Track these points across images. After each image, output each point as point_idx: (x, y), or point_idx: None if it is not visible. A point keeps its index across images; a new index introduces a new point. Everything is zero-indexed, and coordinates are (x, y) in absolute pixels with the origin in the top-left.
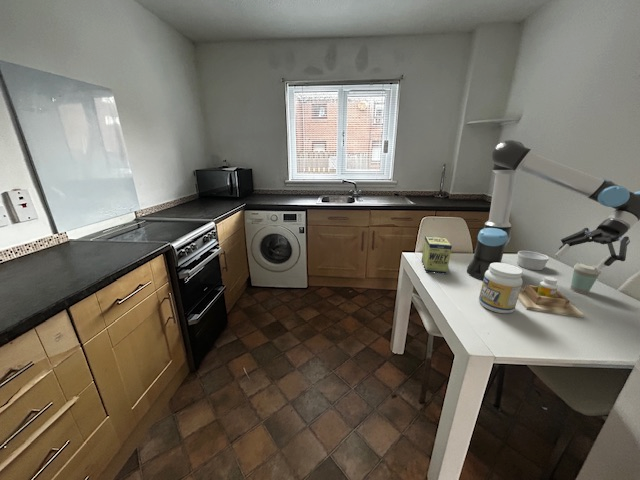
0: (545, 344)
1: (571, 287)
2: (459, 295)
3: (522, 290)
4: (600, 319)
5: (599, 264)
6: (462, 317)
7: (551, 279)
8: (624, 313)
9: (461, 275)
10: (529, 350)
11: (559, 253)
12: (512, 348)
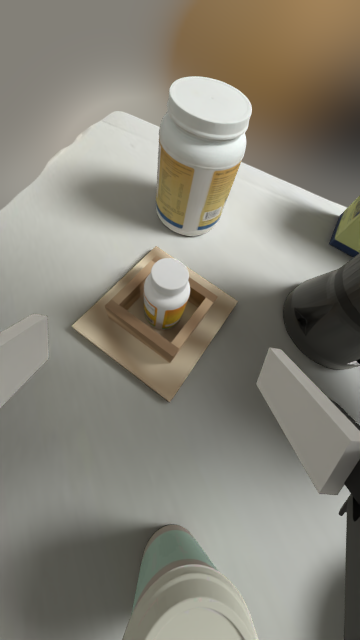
0: (73, 178)
1: (190, 534)
2: (236, 195)
3: (217, 312)
4: None
5: (15, 329)
6: None
7: (164, 267)
8: (3, 504)
9: (322, 268)
10: (79, 152)
11: (276, 366)
12: (94, 141)
